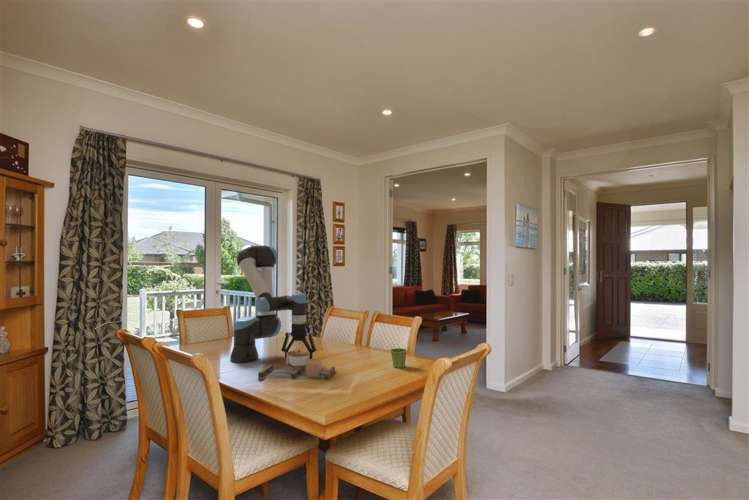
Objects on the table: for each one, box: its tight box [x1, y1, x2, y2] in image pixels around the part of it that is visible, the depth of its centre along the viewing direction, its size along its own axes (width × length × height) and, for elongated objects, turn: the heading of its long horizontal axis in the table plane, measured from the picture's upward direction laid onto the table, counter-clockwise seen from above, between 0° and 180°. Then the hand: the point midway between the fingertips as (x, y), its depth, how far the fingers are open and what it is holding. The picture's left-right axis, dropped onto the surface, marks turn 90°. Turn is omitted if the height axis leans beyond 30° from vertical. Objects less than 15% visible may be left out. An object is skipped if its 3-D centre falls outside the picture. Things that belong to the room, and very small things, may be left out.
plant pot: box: [389, 347, 409, 369], centre depth 216 cm, size 9×9×9 cm
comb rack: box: [257, 364, 336, 381], centre depth 197 cm, size 15×33×4 cm, turn 83°
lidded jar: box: [288, 348, 309, 367], centre depth 215 cm, size 11×11×9 cm
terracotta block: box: [305, 359, 322, 376], centre depth 196 cm, size 6×6×6 cm
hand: (298, 365), depth 215 cm, fingers closed on lidded jar, 11 cm apart
